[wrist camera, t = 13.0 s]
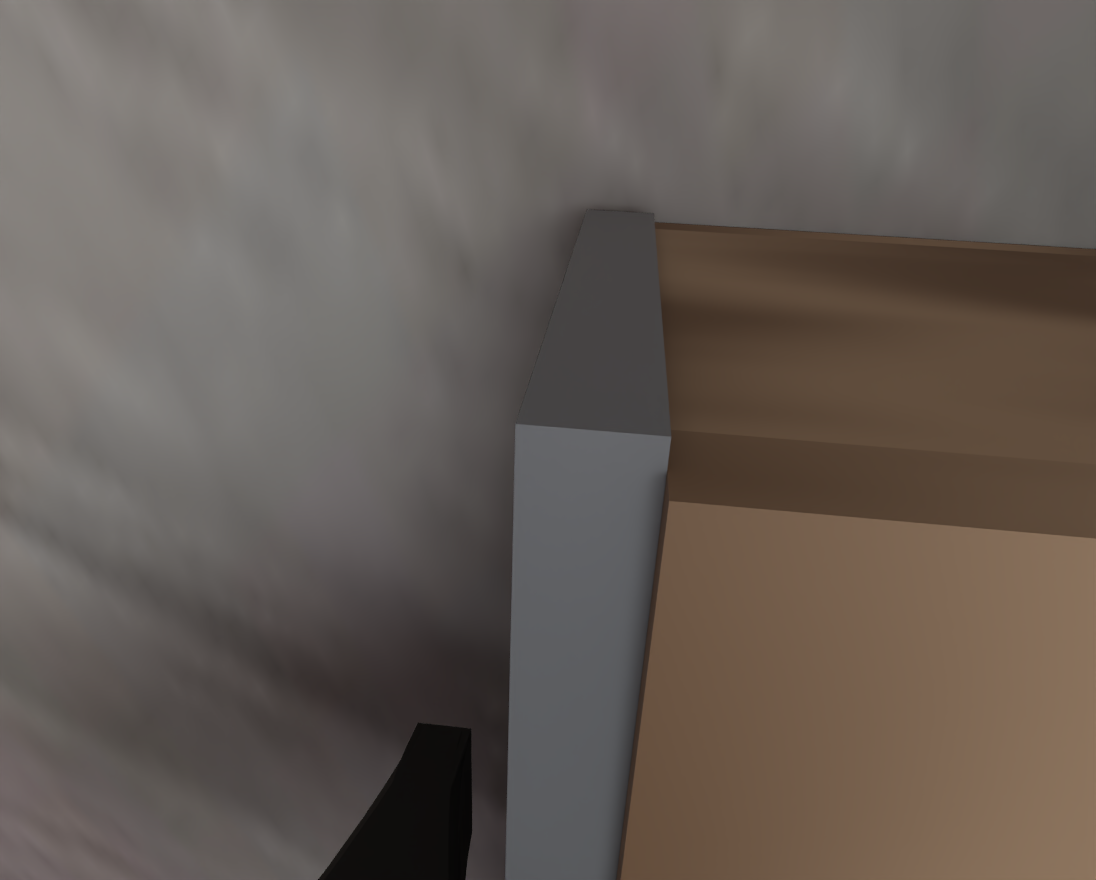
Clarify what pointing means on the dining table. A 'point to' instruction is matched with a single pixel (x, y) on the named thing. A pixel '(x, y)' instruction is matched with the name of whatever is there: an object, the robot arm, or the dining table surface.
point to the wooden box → (871, 563)
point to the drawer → (585, 553)
